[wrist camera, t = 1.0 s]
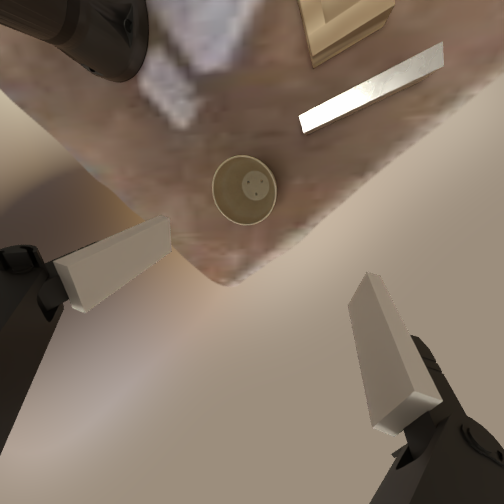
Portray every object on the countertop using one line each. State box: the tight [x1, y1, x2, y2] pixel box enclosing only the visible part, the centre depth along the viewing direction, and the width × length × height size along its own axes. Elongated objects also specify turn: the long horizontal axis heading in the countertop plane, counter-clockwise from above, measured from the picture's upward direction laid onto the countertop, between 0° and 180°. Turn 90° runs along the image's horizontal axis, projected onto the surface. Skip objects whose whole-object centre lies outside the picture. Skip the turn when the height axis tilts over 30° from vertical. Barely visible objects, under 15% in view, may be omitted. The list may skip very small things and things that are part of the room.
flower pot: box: [212, 155, 277, 225], centre depth 32 cm, size 10×10×7 cm
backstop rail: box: [299, 41, 444, 135], centre depth 24 cm, size 2×14×5 cm, turn 113°
